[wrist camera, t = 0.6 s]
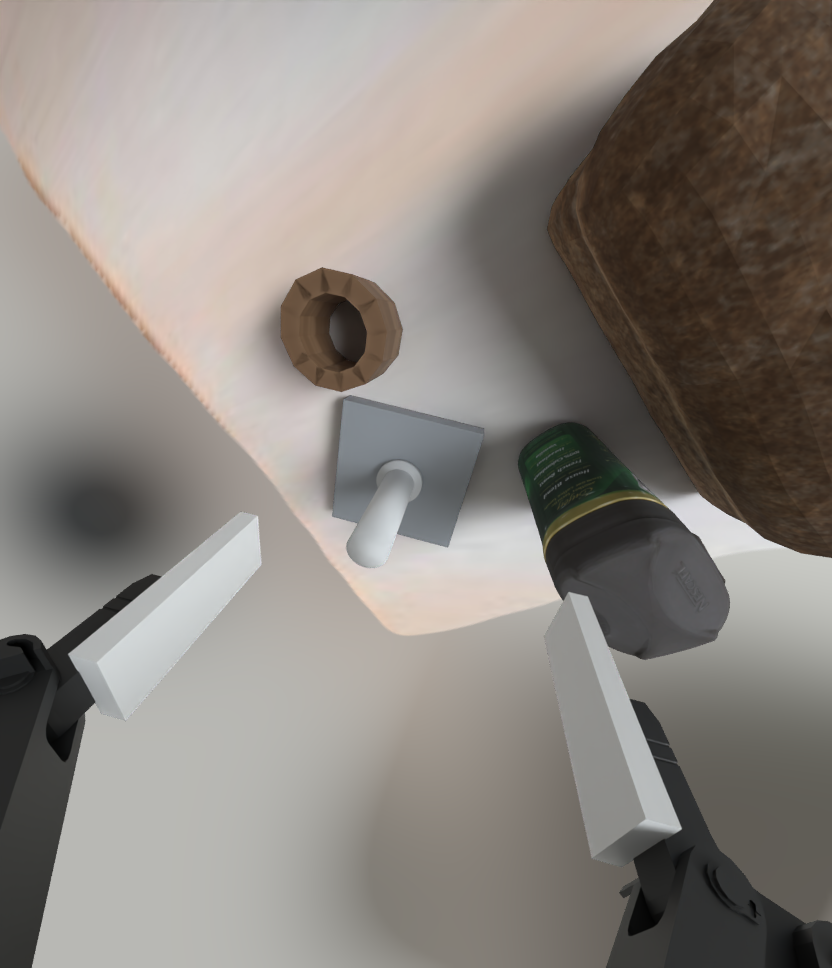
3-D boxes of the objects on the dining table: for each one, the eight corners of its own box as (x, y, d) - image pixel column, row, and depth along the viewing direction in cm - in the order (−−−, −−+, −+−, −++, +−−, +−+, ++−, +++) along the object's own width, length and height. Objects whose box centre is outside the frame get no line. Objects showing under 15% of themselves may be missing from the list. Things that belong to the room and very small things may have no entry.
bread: (743, 2, 19) (1496, -888, 5) (887, 424, 27) (1328, 535, 13) (522, 215, 25) (583, 80, 11) (695, 509, 33) (858, 649, 19)
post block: (350, 395, 33) (277, 439, 21) (483, 428, 32) (489, 495, 20) (338, 507, 40) (277, 592, 27) (449, 537, 39) (437, 637, 27)
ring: (316, 269, 28) (281, 257, 23) (409, 290, 28) (394, 283, 23) (312, 367, 32) (280, 376, 27) (393, 387, 32) (376, 400, 27)
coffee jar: (503, 454, 33) (531, 583, 17) (576, 407, 30) (696, 509, 14) (553, 519, 36) (620, 687, 19) (625, 482, 33) (778, 645, 16)
